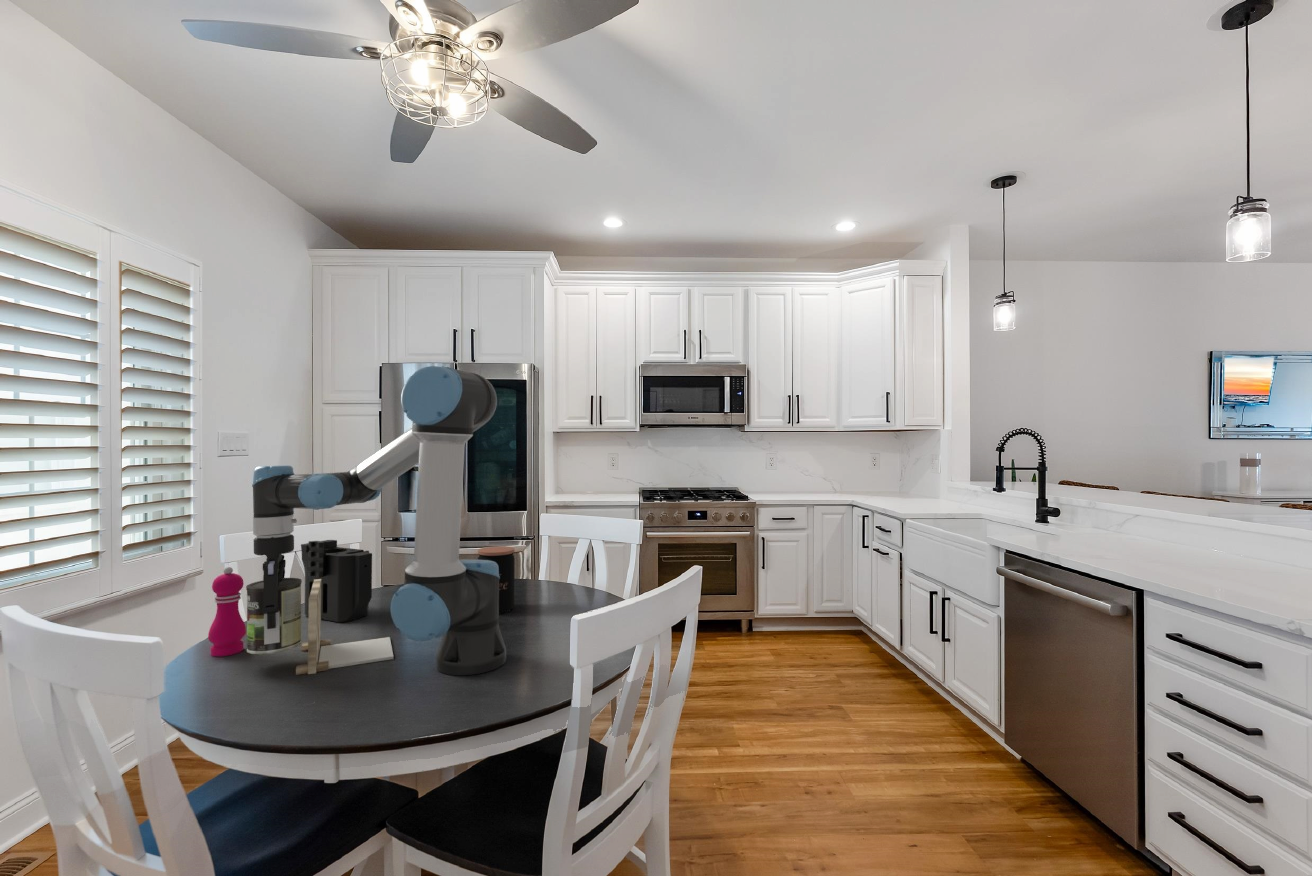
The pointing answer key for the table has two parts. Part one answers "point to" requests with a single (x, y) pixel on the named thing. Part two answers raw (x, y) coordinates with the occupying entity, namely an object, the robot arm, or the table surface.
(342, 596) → the black machined bracket
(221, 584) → the pepper mill
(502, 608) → the coffee jar
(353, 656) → the mat
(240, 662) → the table surface
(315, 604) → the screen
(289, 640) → the coffee can
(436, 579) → the robot arm
